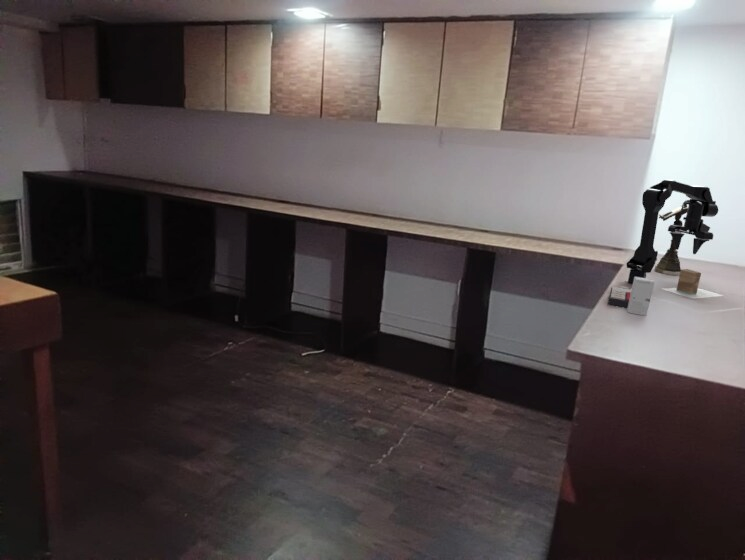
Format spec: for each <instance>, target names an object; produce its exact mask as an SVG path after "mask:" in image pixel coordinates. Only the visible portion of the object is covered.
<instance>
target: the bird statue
mask: <svg viewBox="0 0 745 560" xmlns="http://www.w3.org/2000/svg"><path fill="white" fill-rule="evenodd" d="M689 200H690V199H686V200H684V202H683V203H682V205H680V207H677V208H675V209H674V210H668V211H667V212H665V213H662V214H661V213H658V219H661V220H662V221H663V222H665V221H668V219H670V218H673V217H674V219H675V221H673V223H672V225H679V226H683V227H684V224H683V221H682V220H681V218H682V216H683V215H685V214H687V211H688V204H686V202H687V201H689ZM678 253H679V251H678V250H676V249H675V245H674V241H673V238H672V237H671V239H670V247H669V248H668V249H667V250H666V252H665V254H664V255H663V256H662V257H661V258H660V260H659V261H658V263H657V264H656V265H654V266H655V267H654V272H656V273H657V272H658V273H661V274H664V275H670V276H680V272H681V270H682V268H681V261H680V259H679V256H678V255H679V254H678Z"/></svg>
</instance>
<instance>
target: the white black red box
mask: <svg viewBox="0 0 745 560" xmlns="http://www.w3.org/2000/svg"><path fill="white" fill-rule="evenodd" d="M631 290H632V289H627V288H622V287H615V286H612V287H610V292H609V294H608V295H609V296H608V301H607V306H610V307H611V306H613V307H616V306H618V307H617V308H622V307H624V309H627V308H628V303H629V299H630V294H631Z"/></svg>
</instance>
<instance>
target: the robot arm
mask: <svg viewBox="0 0 745 560" xmlns="http://www.w3.org/2000/svg"><path fill="white" fill-rule="evenodd" d="M673 192H675V193H680V194H683V195H685V196H686V198H689V199H688V200H689V201H687V202H686V204H687V207H688V211H687V213H686V215H685V216H684V217H683V220H684V224H683V225H682V226H679V225H673V224H670V225H669V226H668V228H667V232H669V234H670V235H671V239H672V238H673V241H674V245H675V249H676V250H677V251H678V250H679V248H680V245H681V242H682V238H683V237H684V236H685V234H687V235H692V236H695V237H694V238H693V243H692V244H693V246H692V255H696V254H697V253H698V252H699V250H700V248H701V247H702V245H704V244H705V243H706V242H709V241H710V240H711V241H712V240H713V239H714V234H713V232H711V231H710V229H711V227H710V226H709V225H707V224H705V223H704V219H702V217H708V218H711V217H712V218H713V217H715V216H716V215H718V213H719V206H718V205H717V204H716V203H717V202H716V200H713V197H712V193H711V188H710V187H708V186H702V185H689V184H686V183H683V182H679V181H677V180H675V179H668V178H667V179H666V178H665V179H663V180H661V182H659V183H657V184H655V185H652V186H650V187H649V188H647V189H646V190H645V191H643V194H642V198H641V199H642V201H641V202H642V206H643V209H644V216H643V223H642V230H641V237H640V242H639V245H638V247H637V248H636V249H635V250H634V254H633V255H632V257H631V258H630V259H629V260H628V261H627V262H626V268H627V269H629V275H628V280H627V281H625V280H624V283H627V284H631V285H633V281H634V277H640V278H646V279H647V274H648V273H649V274H650V273H652V271H653V268H655V267H654V266H656V265H655V264H656V262H657V261H658V253H659V252H658V250H655V248H654V242H655V239H656V238H655V236H656V233H657V231H656V230H657V225H658V219H659V214H660V211H661V210H662V209H663V207H664V206H665V203H666V201H667V200H668V199H669V198H670V197H671V196H672V194H673ZM683 226H684V227H683Z"/></svg>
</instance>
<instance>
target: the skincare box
mask: <svg viewBox="0 0 745 560" xmlns="http://www.w3.org/2000/svg"><path fill="white" fill-rule="evenodd" d="M654 285H655V281H654V280H653V279H652V278H647V277H646V278H640V277H634V281H633V284H631V289H630V290H631V294H630V299H629V303H628V308H626V310H627V313H628V312H629V314H635V315H640V316H647V315H648V311H649V307H650V302H651V297H652V294H653V290H654Z"/></svg>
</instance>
